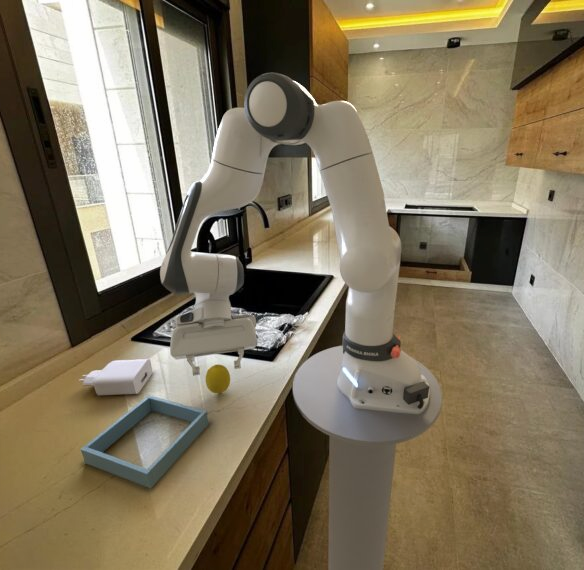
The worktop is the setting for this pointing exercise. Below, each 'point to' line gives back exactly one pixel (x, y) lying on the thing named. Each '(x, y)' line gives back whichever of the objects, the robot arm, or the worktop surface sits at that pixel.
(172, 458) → the blue bin
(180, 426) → the worktop surface
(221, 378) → the lemon
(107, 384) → the charger
